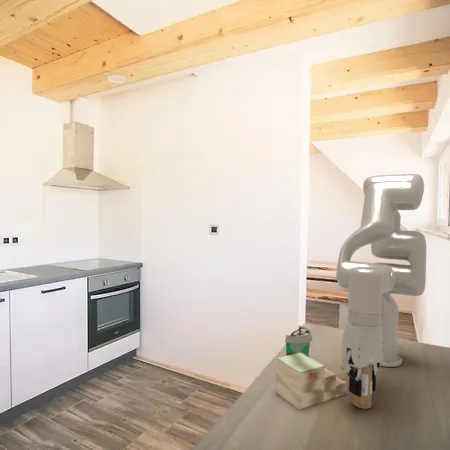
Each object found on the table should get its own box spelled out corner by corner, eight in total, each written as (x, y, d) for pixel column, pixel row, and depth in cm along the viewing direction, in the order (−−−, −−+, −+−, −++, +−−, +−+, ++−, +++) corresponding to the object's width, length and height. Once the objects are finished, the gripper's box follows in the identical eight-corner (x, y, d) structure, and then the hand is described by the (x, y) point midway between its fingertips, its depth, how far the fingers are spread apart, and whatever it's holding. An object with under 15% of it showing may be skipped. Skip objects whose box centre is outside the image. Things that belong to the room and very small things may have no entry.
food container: (304, 373, 99) (305, 339, 99) (284, 368, 103) (285, 335, 102) (316, 359, 110) (317, 328, 110) (298, 354, 113) (299, 325, 113)
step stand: (320, 379, 96) (321, 347, 96) (347, 394, 88) (348, 360, 88) (275, 392, 88) (276, 358, 88) (300, 410, 80) (301, 373, 80)
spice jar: (375, 406, 82) (377, 351, 82) (364, 411, 80) (366, 355, 80) (359, 397, 86) (360, 345, 86) (347, 402, 84) (349, 348, 83)
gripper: (373, 309, 90) (371, 377, 90) (327, 318, 82) (325, 392, 82) (400, 317, 83) (397, 390, 84) (353, 327, 75) (350, 408, 76)
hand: (362, 390), depth 83 cm, fingers closed on spice jar, 4 cm apart
